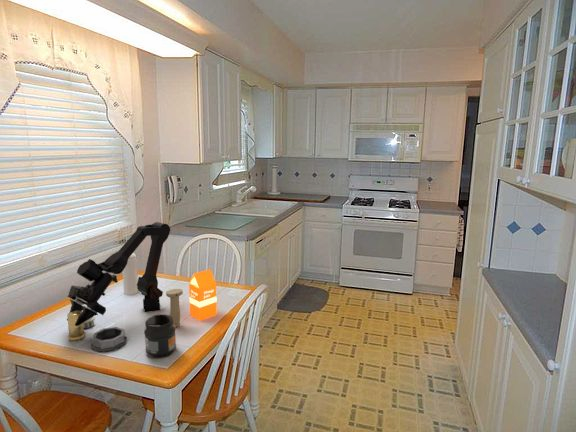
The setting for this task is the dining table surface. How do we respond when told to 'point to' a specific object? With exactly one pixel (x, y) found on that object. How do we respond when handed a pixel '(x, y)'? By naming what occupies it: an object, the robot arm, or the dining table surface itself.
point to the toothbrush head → (88, 322)
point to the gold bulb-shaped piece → (75, 327)
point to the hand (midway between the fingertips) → (71, 323)
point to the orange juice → (203, 295)
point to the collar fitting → (108, 339)
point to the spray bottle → (130, 276)
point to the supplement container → (160, 336)
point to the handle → (175, 304)
